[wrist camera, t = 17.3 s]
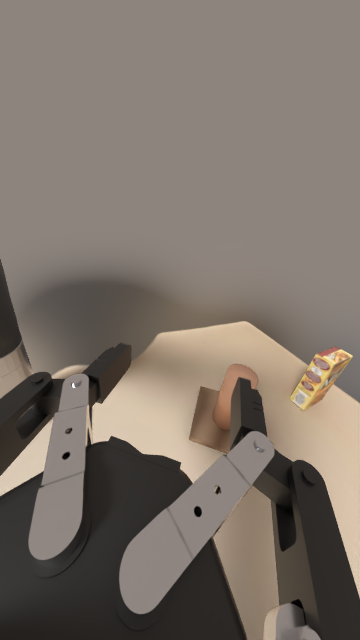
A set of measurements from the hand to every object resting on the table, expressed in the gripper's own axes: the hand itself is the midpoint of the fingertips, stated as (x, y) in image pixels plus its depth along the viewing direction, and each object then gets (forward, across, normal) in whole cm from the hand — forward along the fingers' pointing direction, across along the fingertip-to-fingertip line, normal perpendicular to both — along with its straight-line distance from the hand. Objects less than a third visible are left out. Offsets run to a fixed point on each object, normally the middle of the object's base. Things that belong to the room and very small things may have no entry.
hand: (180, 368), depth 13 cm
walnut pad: (+18, -9, +28) cm, 35 cm away
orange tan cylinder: (+18, -9, +27) cm, 34 cm away
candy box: (+32, -30, +28) cm, 52 cm away
